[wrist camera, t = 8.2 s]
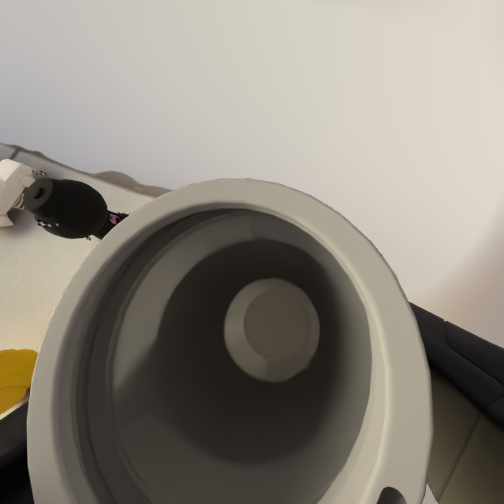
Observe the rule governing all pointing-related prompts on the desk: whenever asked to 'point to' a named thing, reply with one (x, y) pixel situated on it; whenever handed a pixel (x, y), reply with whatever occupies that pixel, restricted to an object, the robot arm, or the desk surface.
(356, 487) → the cup
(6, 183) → the toy car
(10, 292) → the desk surface
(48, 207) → the gumball machine
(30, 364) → the duckling
